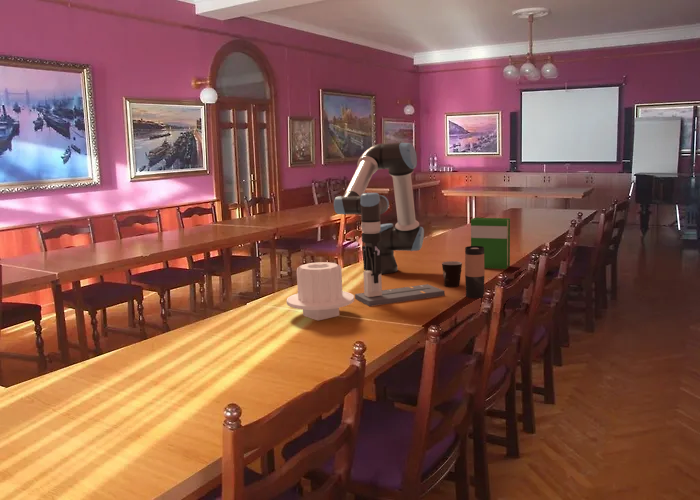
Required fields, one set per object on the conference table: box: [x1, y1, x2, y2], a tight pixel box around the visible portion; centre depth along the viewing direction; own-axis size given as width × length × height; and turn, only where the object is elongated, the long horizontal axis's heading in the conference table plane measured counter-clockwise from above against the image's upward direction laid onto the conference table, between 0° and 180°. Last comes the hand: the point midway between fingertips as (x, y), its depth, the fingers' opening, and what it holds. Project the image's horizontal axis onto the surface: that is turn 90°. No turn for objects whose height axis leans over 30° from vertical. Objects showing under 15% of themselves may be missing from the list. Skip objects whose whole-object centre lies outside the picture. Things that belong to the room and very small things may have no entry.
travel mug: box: [464, 245, 485, 299], centre depth 250 cm, size 8×8×20 cm
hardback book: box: [470, 217, 511, 270], centre depth 307 cm, size 18×7×24 cm, turn 65°
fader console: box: [354, 283, 445, 307], centre depth 254 cm, size 14×34×2 cm, turn 113°
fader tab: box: [362, 270, 383, 297], centre depth 249 cm, size 4×6×10 cm
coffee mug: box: [441, 260, 463, 288], centre depth 272 cm, size 12×9×10 cm
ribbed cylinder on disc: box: [286, 261, 355, 322], centre depth 230 cm, size 25×25×19 cm
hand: (372, 289), depth 249 cm, fingers closed on fader tab, 4 cm apart
